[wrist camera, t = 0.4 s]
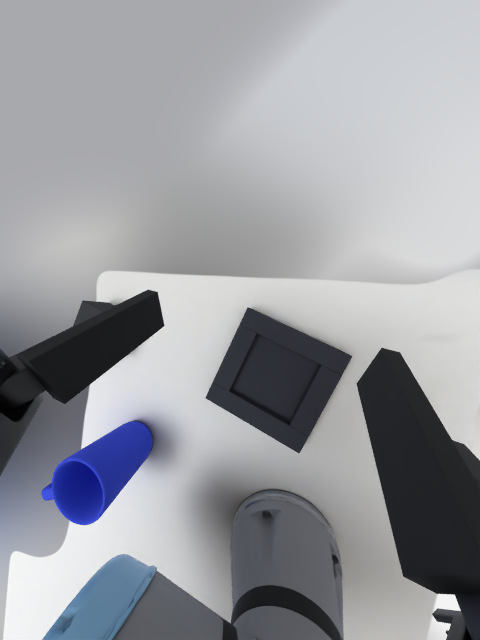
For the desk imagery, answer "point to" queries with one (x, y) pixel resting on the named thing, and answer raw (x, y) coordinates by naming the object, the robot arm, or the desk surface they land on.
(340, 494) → the desk surface
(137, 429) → the mug
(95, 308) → the dark gray rectangular block
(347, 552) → the desk surface
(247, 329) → the base pad
